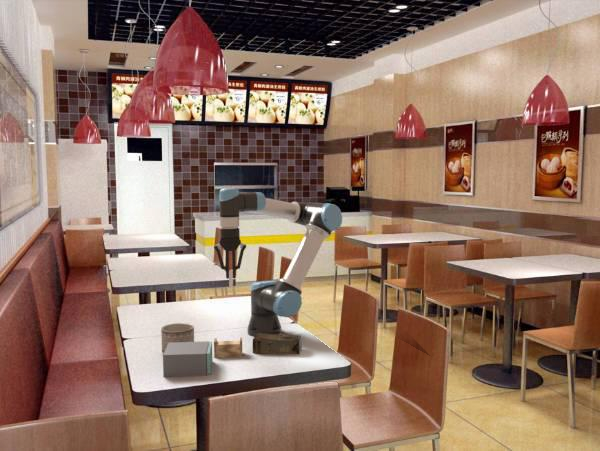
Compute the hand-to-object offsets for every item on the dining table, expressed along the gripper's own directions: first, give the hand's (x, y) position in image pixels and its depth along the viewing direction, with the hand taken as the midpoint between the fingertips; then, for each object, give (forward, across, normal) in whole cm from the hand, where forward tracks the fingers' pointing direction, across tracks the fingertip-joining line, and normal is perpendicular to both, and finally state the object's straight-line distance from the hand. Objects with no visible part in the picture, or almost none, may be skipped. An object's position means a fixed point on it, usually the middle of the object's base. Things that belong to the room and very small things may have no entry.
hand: (231, 286), depth 226 cm
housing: (+26, +16, +20) cm, 36 cm away
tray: (+26, +15, +20) cm, 36 cm away
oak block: (+26, +2, +6) cm, 27 cm away
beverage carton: (+27, -18, +3) cm, 32 cm away
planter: (+26, +22, 0) cm, 34 cm away
